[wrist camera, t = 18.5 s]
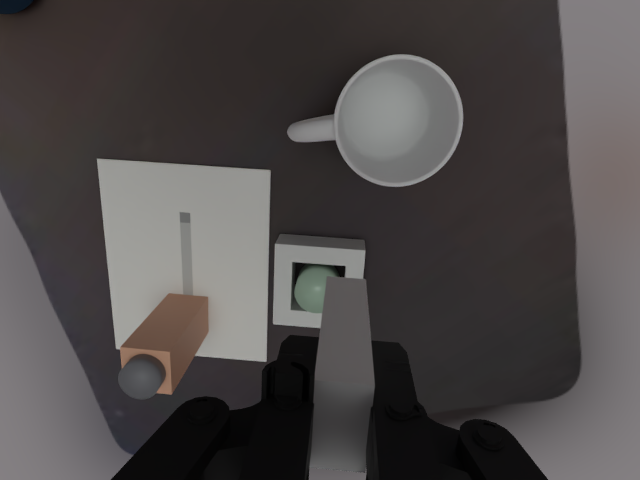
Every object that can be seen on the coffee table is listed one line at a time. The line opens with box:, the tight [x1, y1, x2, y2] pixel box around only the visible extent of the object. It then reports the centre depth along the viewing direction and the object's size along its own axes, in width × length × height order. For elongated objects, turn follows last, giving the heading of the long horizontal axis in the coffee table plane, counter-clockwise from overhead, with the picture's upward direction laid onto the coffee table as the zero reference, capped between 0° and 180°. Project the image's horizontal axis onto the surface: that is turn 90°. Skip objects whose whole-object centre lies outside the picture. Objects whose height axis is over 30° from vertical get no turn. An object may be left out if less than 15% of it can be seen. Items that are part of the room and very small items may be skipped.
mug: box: [287, 54, 463, 187], centre depth 34 cm, size 12×8×10 cm
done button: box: [294, 263, 340, 313], centre depth 41 cm, size 4×4×3 cm
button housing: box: [273, 234, 366, 328], centre depth 42 cm, size 8×8×3 cm
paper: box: [97, 158, 271, 362], centre depth 44 cm, size 20×16×1 cm
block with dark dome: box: [118, 293, 209, 399], centre depth 40 cm, size 4×4×11 cm
